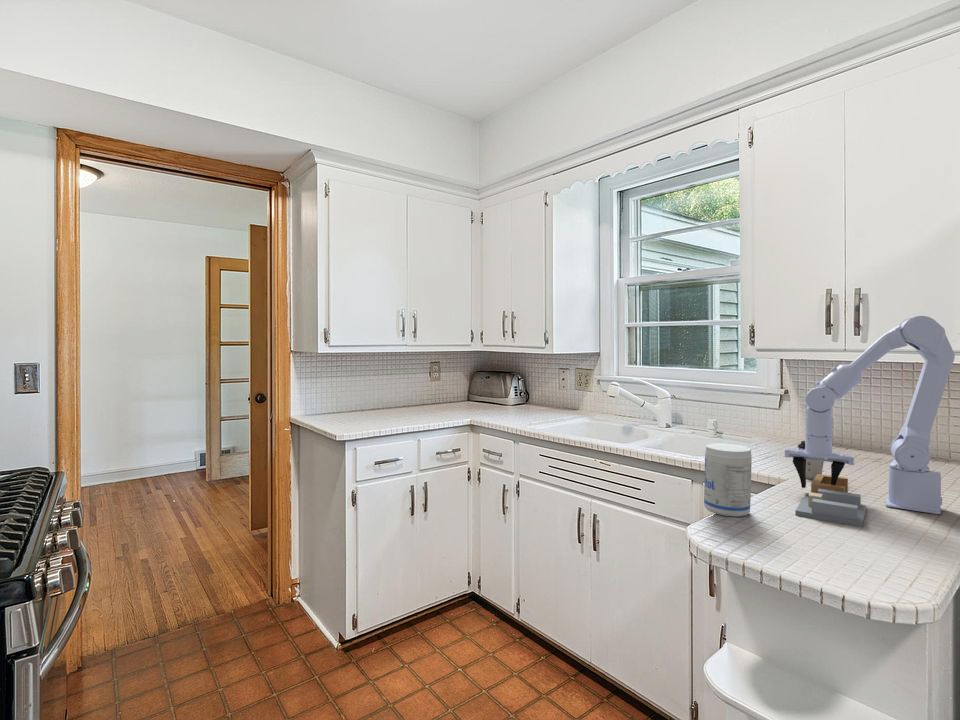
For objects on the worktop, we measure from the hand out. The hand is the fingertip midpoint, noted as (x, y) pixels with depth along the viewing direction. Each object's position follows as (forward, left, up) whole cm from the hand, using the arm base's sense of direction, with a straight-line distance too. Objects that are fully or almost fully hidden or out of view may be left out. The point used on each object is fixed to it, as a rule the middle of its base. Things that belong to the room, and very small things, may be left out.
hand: (817, 489), depth 130 cm
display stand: (-4, +14, -1) cm, 15 cm away
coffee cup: (+4, -19, -2) cm, 19 cm away
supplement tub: (+15, +28, -2) cm, 32 cm away
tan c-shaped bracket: (-2, 0, -1) cm, 3 cm away
